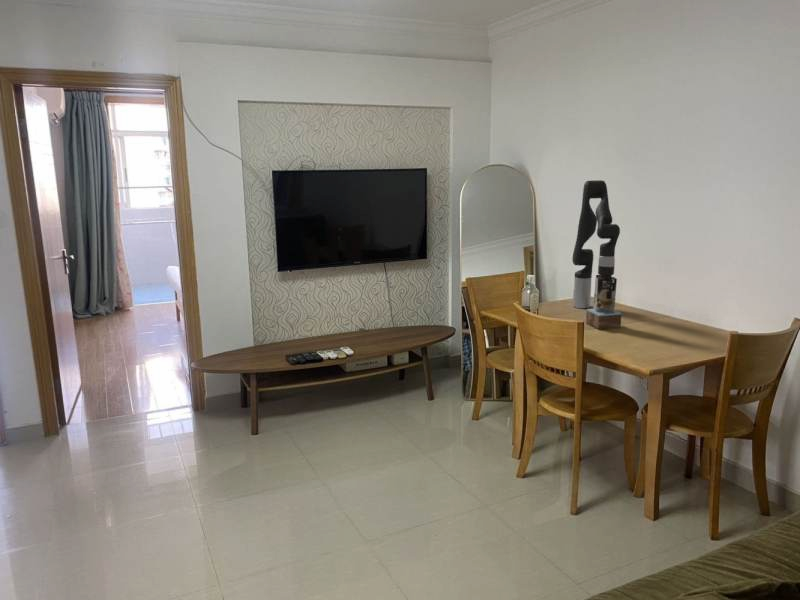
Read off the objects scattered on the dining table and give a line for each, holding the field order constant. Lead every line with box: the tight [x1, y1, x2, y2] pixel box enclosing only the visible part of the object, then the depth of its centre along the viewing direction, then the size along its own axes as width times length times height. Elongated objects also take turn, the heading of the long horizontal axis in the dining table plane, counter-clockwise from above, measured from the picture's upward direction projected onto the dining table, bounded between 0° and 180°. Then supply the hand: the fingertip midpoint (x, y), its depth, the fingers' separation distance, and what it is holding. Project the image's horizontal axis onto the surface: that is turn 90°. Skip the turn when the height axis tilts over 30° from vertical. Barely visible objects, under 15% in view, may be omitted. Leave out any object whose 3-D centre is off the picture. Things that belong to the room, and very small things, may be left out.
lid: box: [586, 308, 622, 316], centre depth 299 cm, size 12×12×1 cm
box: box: [585, 310, 622, 331], centre depth 300 cm, size 12×12×7 cm
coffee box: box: [592, 276, 617, 311], centre depth 297 cm, size 9×6×16 cm
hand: (604, 297), depth 298 cm, fingers closed on coffee box, 7 cm apart
